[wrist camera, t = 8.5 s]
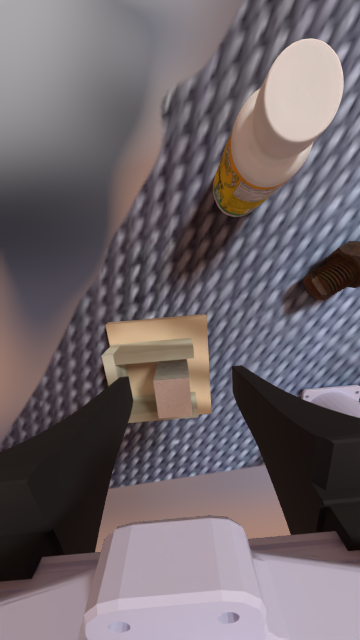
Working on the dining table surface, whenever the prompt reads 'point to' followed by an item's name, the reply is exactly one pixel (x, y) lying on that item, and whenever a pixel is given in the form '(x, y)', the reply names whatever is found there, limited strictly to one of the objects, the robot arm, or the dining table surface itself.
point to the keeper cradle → (159, 359)
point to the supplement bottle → (278, 126)
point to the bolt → (335, 272)
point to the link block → (172, 389)
